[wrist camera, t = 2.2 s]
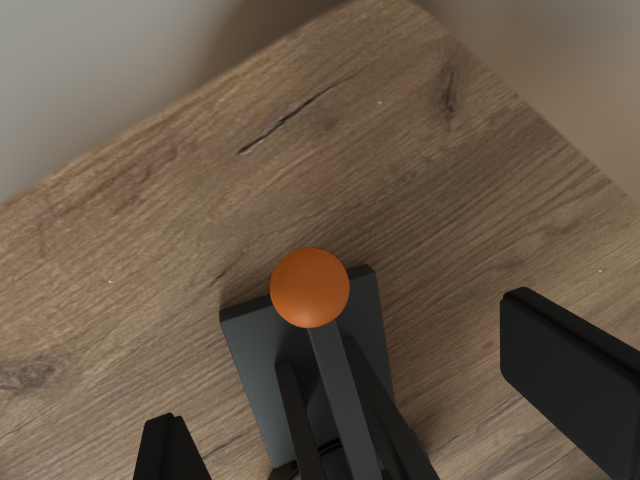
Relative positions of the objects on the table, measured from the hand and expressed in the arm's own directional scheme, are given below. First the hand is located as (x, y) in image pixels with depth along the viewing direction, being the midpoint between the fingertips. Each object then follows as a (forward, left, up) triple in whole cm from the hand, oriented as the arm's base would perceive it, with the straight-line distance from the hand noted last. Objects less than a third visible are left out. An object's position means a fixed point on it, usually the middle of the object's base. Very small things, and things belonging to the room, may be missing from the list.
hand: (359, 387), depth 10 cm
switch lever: (+4, +2, -5) cm, 7 cm away
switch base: (+7, +4, -11) cm, 14 cm away
